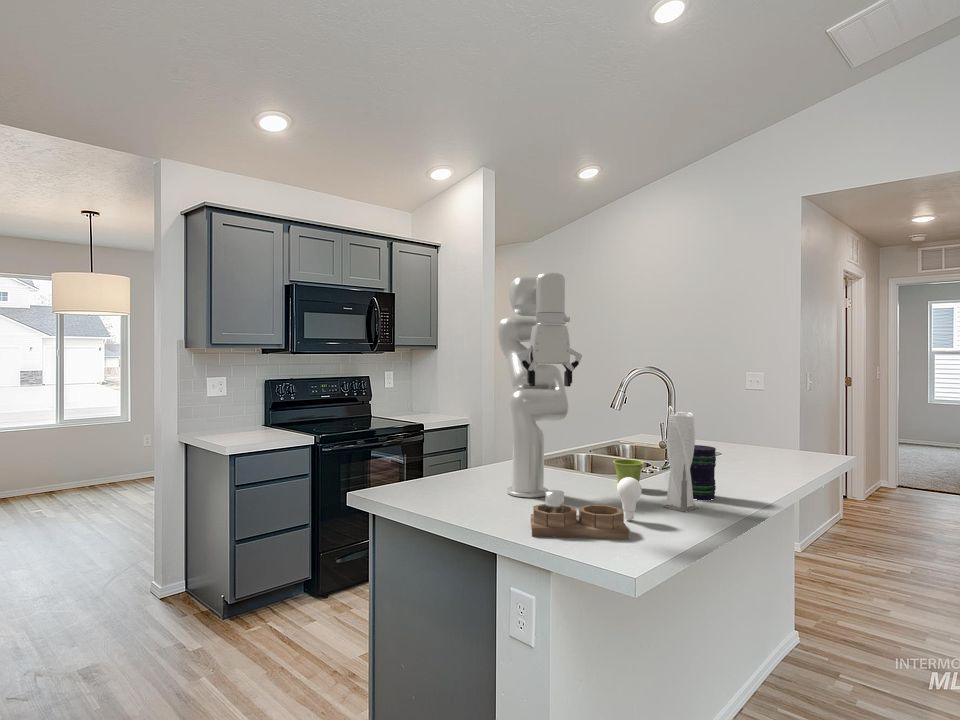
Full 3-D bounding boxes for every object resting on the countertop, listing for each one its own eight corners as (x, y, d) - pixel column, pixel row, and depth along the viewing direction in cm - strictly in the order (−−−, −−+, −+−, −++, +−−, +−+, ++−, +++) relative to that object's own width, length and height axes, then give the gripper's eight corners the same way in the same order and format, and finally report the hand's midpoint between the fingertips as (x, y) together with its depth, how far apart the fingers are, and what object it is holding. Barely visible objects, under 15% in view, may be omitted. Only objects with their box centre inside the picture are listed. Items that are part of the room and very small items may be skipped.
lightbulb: (611, 520, 150) (612, 477, 150) (624, 516, 154) (625, 474, 154) (633, 525, 146) (633, 480, 146) (645, 520, 150) (646, 477, 150)
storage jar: (704, 502, 170) (704, 450, 170) (674, 496, 178) (674, 446, 178) (721, 497, 177) (722, 447, 177) (691, 491, 184) (692, 444, 184)
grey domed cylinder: (544, 518, 143) (545, 489, 143) (562, 519, 143) (563, 490, 143) (545, 523, 139) (546, 493, 139) (564, 524, 139) (564, 494, 139)
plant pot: (638, 493, 181) (638, 465, 181) (608, 489, 186) (609, 462, 186) (647, 488, 189) (647, 461, 189) (618, 484, 194) (618, 458, 194)
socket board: (530, 522, 147) (530, 502, 147) (619, 524, 146) (619, 504, 146) (532, 536, 135) (532, 514, 135) (629, 539, 134) (629, 517, 134)
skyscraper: (657, 506, 166) (659, 406, 166) (673, 501, 171) (675, 405, 171) (685, 512, 159) (686, 408, 159) (701, 507, 164) (702, 407, 164)
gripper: (576, 322, 160) (576, 386, 159) (514, 321, 156) (514, 385, 156) (586, 320, 152) (586, 386, 152) (522, 318, 149) (521, 386, 149)
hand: (549, 386), depth 154 cm, fingers open, 9 cm apart
